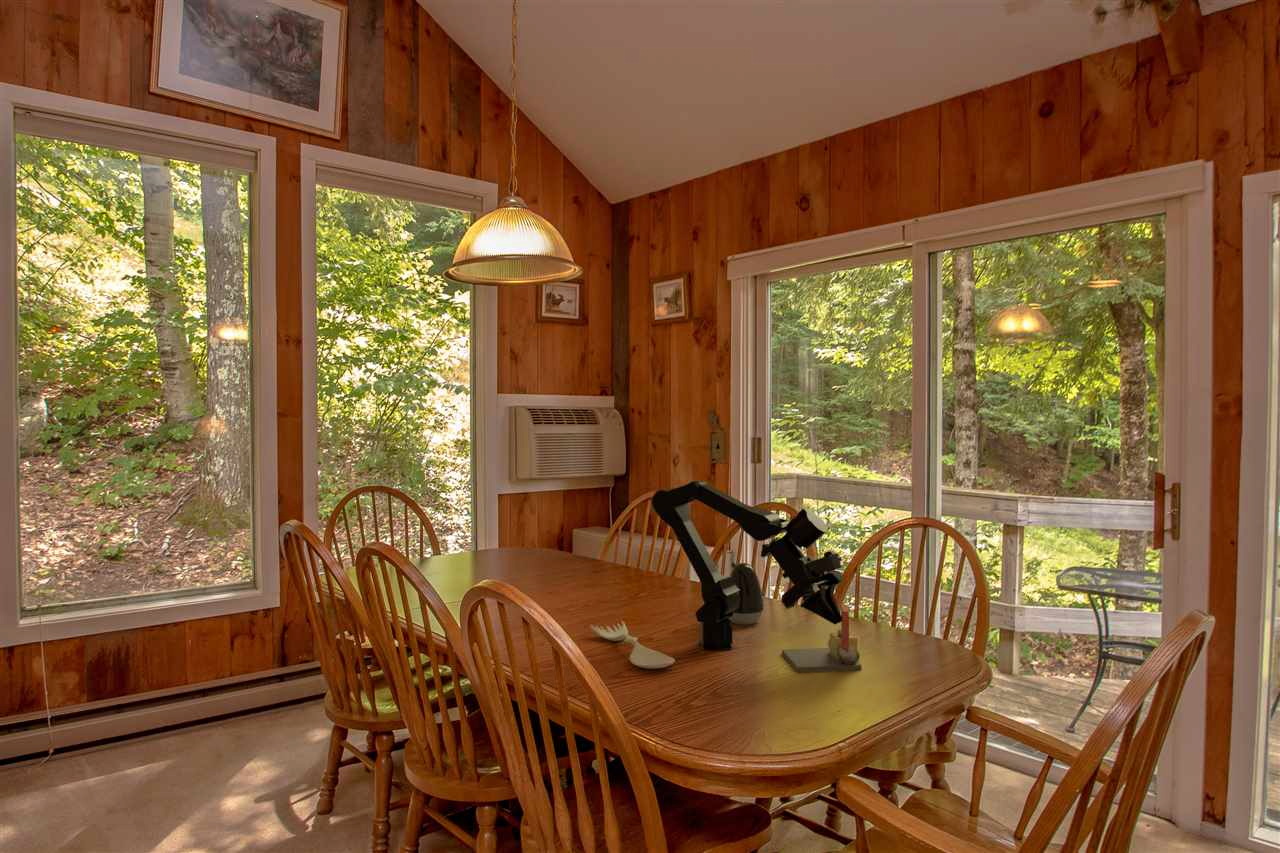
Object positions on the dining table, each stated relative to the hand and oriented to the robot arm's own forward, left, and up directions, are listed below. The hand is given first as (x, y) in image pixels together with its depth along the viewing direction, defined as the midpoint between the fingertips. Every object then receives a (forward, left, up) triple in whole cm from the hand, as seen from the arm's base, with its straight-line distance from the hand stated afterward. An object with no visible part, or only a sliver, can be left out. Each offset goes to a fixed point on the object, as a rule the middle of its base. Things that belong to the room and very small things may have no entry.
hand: (838, 622), depth 161 cm
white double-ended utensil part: (-41, +18, -11) cm, 46 cm away
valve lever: (+1, +1, -4) cm, 4 cm away
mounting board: (-2, +6, -10) cm, 12 cm away
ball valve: (+3, +5, -9) cm, 11 cm away
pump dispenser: (-11, +39, -10) cm, 42 cm away
